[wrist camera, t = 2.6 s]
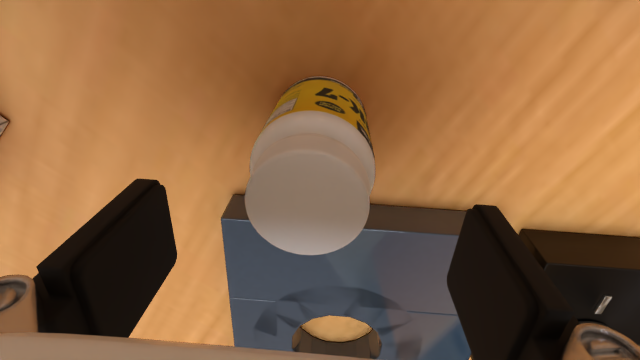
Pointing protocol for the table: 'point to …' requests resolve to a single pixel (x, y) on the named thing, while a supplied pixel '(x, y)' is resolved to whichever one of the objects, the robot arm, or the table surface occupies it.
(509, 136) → the table surface
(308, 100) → the supplement bottle
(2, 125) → the light bulb box
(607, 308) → the black dial plate
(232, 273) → the blue-grey patterned panel
